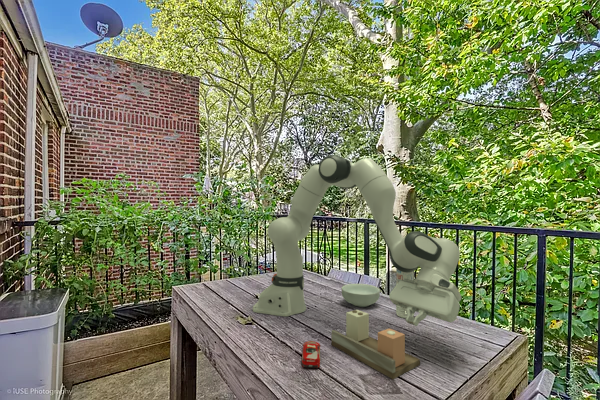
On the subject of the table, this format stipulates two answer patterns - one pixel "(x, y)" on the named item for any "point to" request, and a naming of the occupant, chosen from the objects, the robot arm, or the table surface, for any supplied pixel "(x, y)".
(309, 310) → the table surface
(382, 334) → the terracotta key
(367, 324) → the cream rectangular block
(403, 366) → the board
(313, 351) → the race car
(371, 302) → the cereal bowl
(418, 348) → the table surface
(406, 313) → the water bottle
